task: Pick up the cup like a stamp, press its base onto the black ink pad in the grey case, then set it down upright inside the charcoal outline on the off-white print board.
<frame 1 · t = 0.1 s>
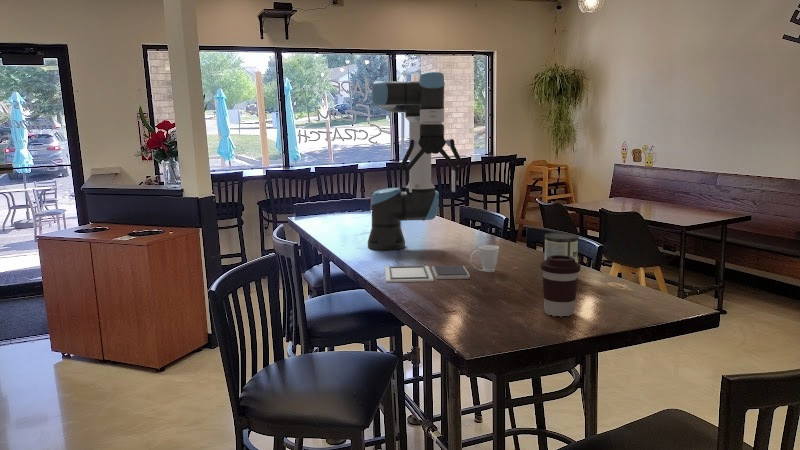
hand: (431, 191, 190), 28 cm above the table, fingers open, 13 cm apart
coffee cup: (558, 314, 158), on the table
cup: (484, 271, 203), on the table
ink pad: (450, 273, 199), on the table
print board: (408, 274, 199), on the table
coffee can: (559, 279, 192), on the table
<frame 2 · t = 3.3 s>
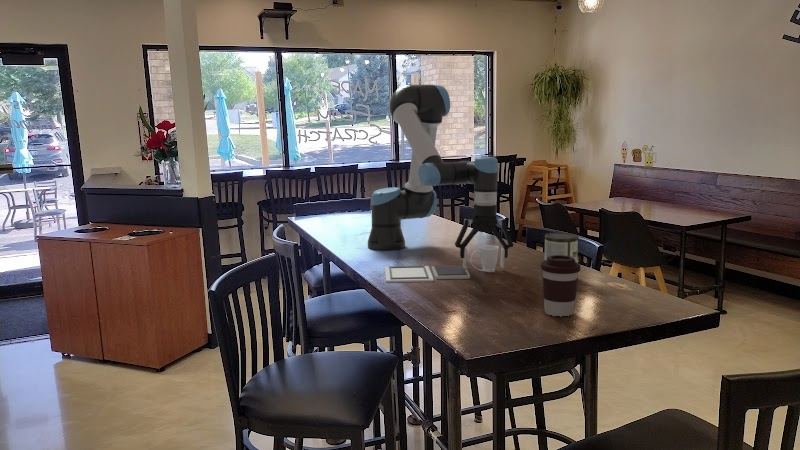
hand: (483, 267, 203), 1 cm above the table, fingers open, 12 cm apart
nothing on the table moved.
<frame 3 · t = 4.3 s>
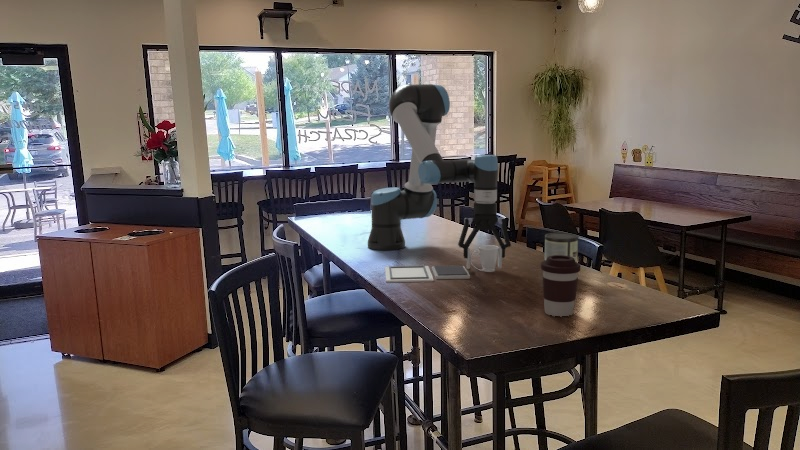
hand: (483, 267, 203), 1 cm above the table, fingers closed on cup, 10 cm apart
cup: (484, 271, 203), on the table, touching gripper
everything else where it was.
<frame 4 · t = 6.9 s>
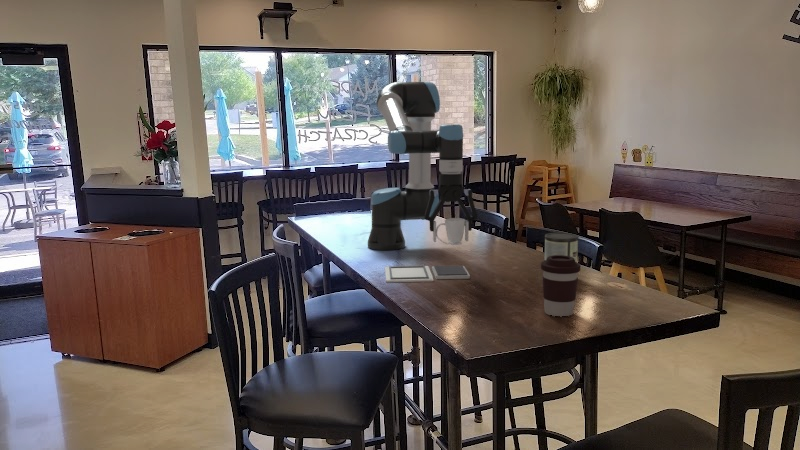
hand: (450, 240, 197), 11 cm above the table, fingers closed on cup, 10 cm apart
cup: (450, 244, 198), point 10 cm above the table, touching gripper
everything else where it was.
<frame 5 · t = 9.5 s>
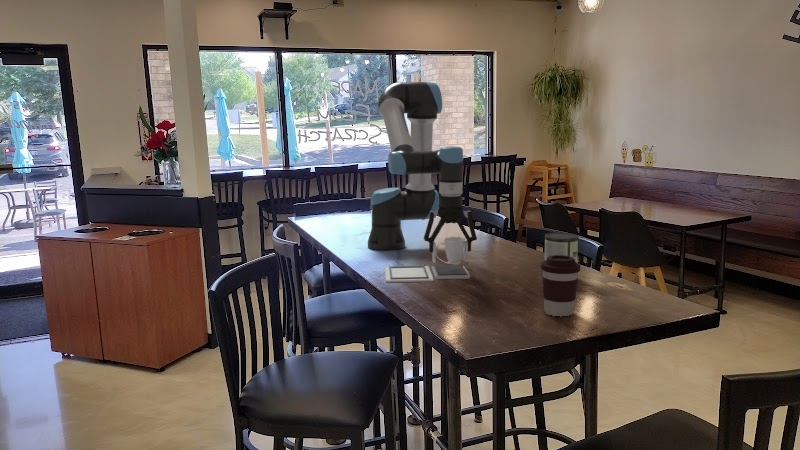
hand: (449, 261, 199), 4 cm above the table, fingers closed on cup, 10 cm apart
cup: (450, 263, 200), point 3 cm above the table, touching gripper
everything else where it was.
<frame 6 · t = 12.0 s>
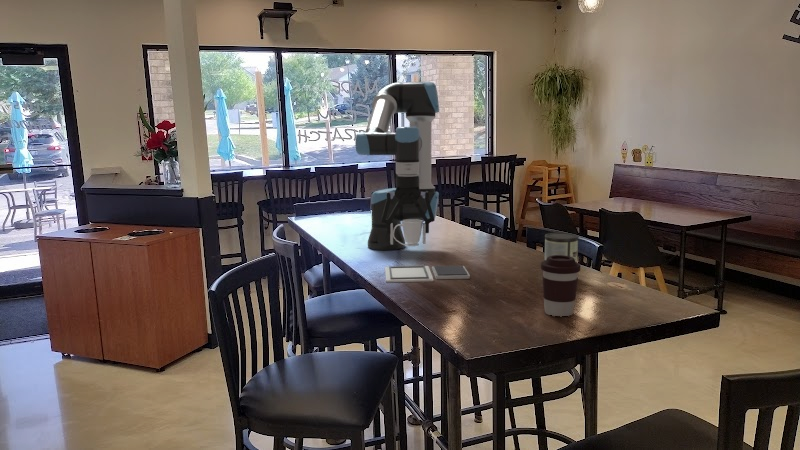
hand: (407, 243, 197), 11 cm above the table, fingers closed on cup, 10 cm apart
cup: (408, 245, 197), point 10 cm above the table, touching gripper
everything else where it was.
when the fingers open (2 cm above the table, at t = 14.3 s): cup drops 1 cm, resting on print board.
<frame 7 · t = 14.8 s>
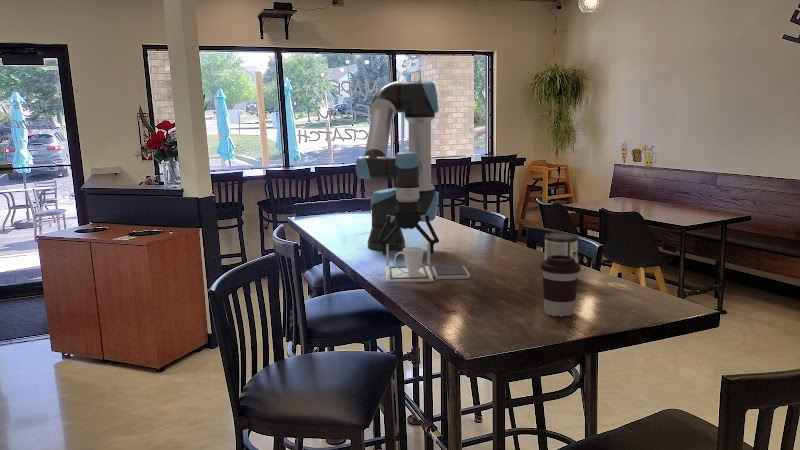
hand: (408, 264, 198), 4 cm above the table, fingers open, 13 cm apart
cup: (409, 273, 199), resting on print board
everything else where it was.
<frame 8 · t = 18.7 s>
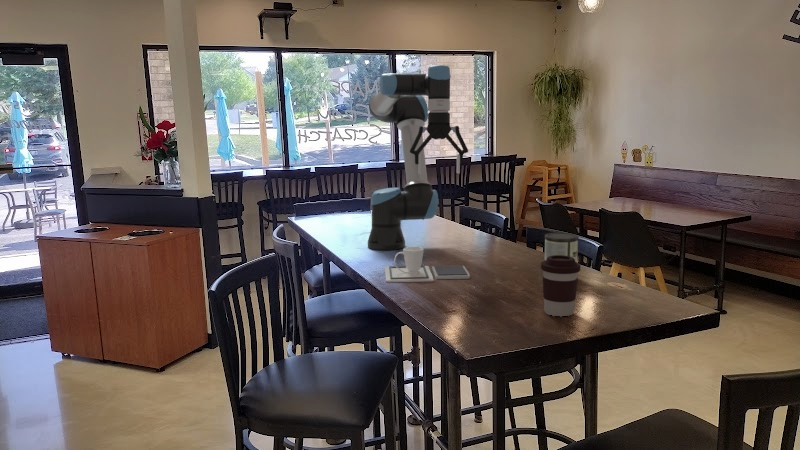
hand: (438, 173, 211), 32 cm above the table, fingers open, 13 cm apart
nothing on the table moved.
at the end: cup inside the target area on the print board (0.4 cm from its centre), point 0.4 cm above the print board's base; cup tilted 0°; the gripper is holding nothing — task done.
